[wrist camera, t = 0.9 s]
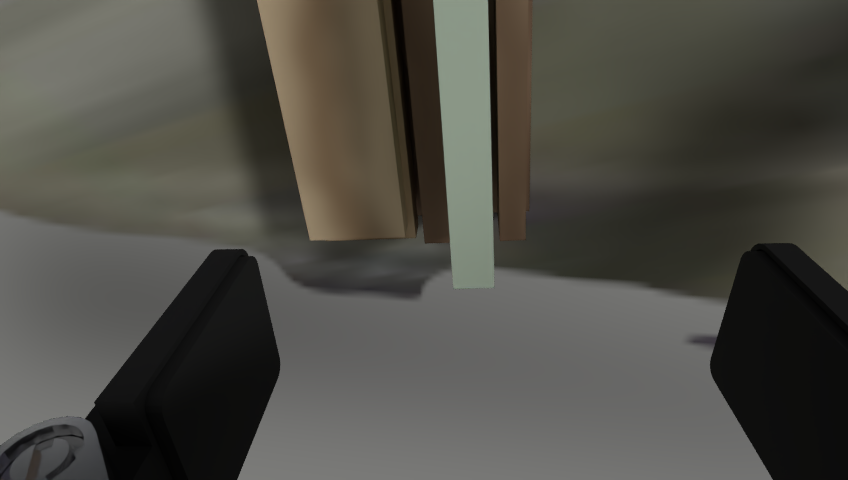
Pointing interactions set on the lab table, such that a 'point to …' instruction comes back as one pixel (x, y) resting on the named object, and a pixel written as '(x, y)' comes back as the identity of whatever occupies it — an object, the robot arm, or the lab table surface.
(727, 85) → the lab table surface
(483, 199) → the tall sheet
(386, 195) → the rack
